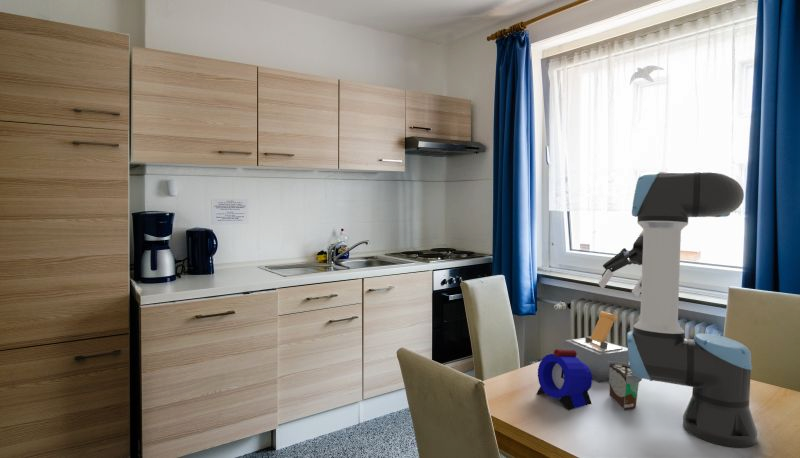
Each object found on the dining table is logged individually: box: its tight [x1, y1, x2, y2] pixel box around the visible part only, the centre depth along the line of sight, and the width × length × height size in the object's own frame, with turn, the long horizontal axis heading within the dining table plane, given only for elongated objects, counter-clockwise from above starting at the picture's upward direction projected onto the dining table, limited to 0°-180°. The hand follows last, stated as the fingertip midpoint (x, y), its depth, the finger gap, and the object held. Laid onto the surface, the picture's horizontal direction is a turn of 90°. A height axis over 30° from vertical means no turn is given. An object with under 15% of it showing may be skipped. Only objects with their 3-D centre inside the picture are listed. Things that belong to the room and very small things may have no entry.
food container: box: [608, 361, 643, 411], centre depth 133 cm, size 12×6×10 cm, turn 179°
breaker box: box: [564, 335, 630, 384], centre depth 157 cm, size 12×16×11 cm
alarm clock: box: [536, 349, 593, 411], centre depth 136 cm, size 12×12×15 cm
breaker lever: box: [590, 310, 618, 343], centre depth 157 cm, size 2×6×10 cm, turn 21°
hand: (616, 290), depth 159 cm, fingers open, 13 cm apart
